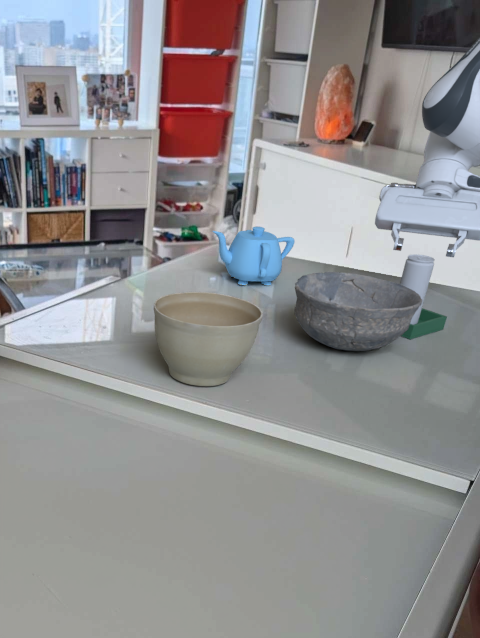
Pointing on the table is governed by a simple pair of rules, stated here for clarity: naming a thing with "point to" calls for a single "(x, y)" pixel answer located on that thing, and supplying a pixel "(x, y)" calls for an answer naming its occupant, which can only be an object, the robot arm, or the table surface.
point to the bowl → (353, 309)
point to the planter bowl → (205, 335)
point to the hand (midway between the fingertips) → (423, 252)
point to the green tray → (426, 324)
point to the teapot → (254, 255)
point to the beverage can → (417, 277)
